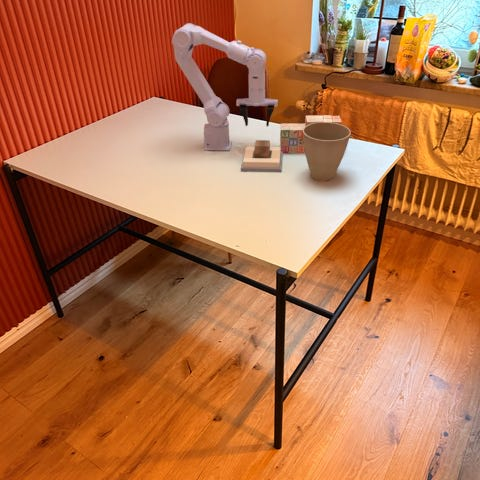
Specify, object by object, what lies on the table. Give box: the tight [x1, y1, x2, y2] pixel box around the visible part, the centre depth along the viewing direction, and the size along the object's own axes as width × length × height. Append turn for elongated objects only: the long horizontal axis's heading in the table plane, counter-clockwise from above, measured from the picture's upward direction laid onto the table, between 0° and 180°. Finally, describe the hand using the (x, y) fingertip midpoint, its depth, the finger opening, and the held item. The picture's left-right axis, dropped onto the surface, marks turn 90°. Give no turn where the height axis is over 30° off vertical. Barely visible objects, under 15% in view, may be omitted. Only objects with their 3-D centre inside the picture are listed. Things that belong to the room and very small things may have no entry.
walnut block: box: [254, 139, 271, 158], centre depth 158 cm, size 5×5×6 cm
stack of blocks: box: [279, 114, 343, 154], centre depth 164 cm, size 21×6×12 cm, turn 86°
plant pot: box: [303, 122, 351, 182], centre depth 146 cm, size 15×15×16 cm
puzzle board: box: [240, 145, 284, 173], centre depth 159 cm, size 14×14×3 cm
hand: (257, 125), depth 164 cm, fingers open, 7 cm apart
